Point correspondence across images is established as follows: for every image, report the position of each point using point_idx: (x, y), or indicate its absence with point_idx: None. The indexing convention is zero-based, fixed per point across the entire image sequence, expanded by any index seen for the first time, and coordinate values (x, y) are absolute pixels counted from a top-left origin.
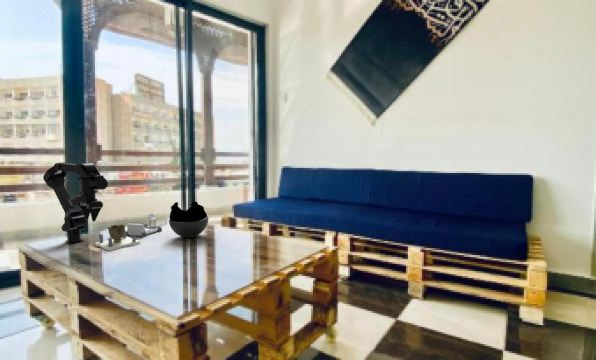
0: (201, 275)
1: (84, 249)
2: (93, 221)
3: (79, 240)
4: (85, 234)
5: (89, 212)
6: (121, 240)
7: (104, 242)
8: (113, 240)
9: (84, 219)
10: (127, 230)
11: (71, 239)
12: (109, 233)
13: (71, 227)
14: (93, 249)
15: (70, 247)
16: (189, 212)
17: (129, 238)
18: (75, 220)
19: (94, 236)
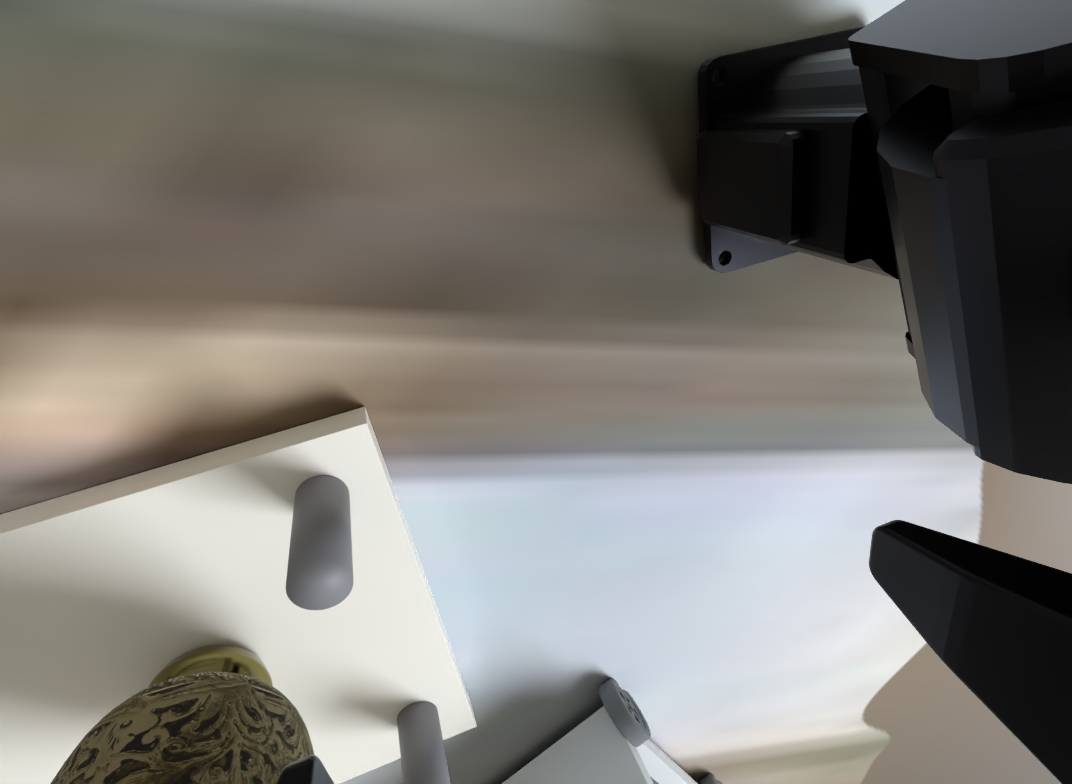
0: None
1: (133, 243)
2: (291, 775)
3: (704, 219)
4: None
5: (1069, 773)
6: None
7: (287, 532)
8: (193, 663)
9: (1015, 453)
10: (631, 748)
11: (764, 104)
12: (123, 749)
13: (913, 108)
14: (47, 373)
15: (447, 44)
16: None
17: (336, 767)
18: (1035, 242)
19: (846, 396)
